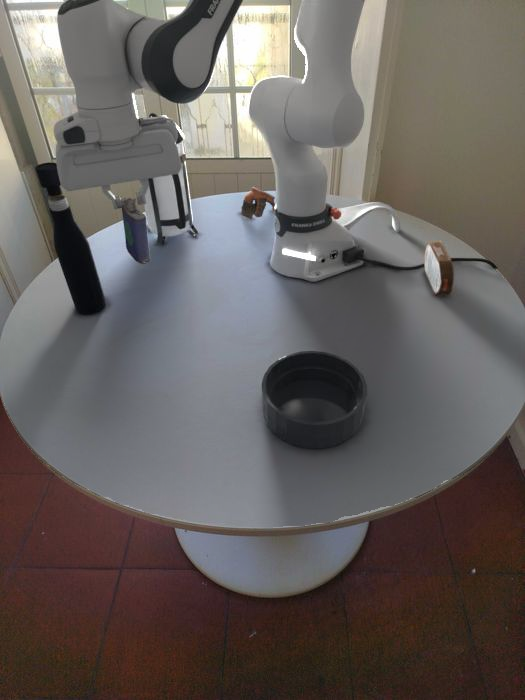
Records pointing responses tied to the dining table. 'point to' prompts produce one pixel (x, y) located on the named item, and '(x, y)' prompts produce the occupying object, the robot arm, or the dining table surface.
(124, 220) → the flask
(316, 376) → the black screw cap
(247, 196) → the orange brown figure
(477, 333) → the dining table surface
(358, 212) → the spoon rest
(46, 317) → the dining table surface
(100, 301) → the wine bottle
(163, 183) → the coffee press
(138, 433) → the dining table surface
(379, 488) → the dining table surface
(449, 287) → the tin
